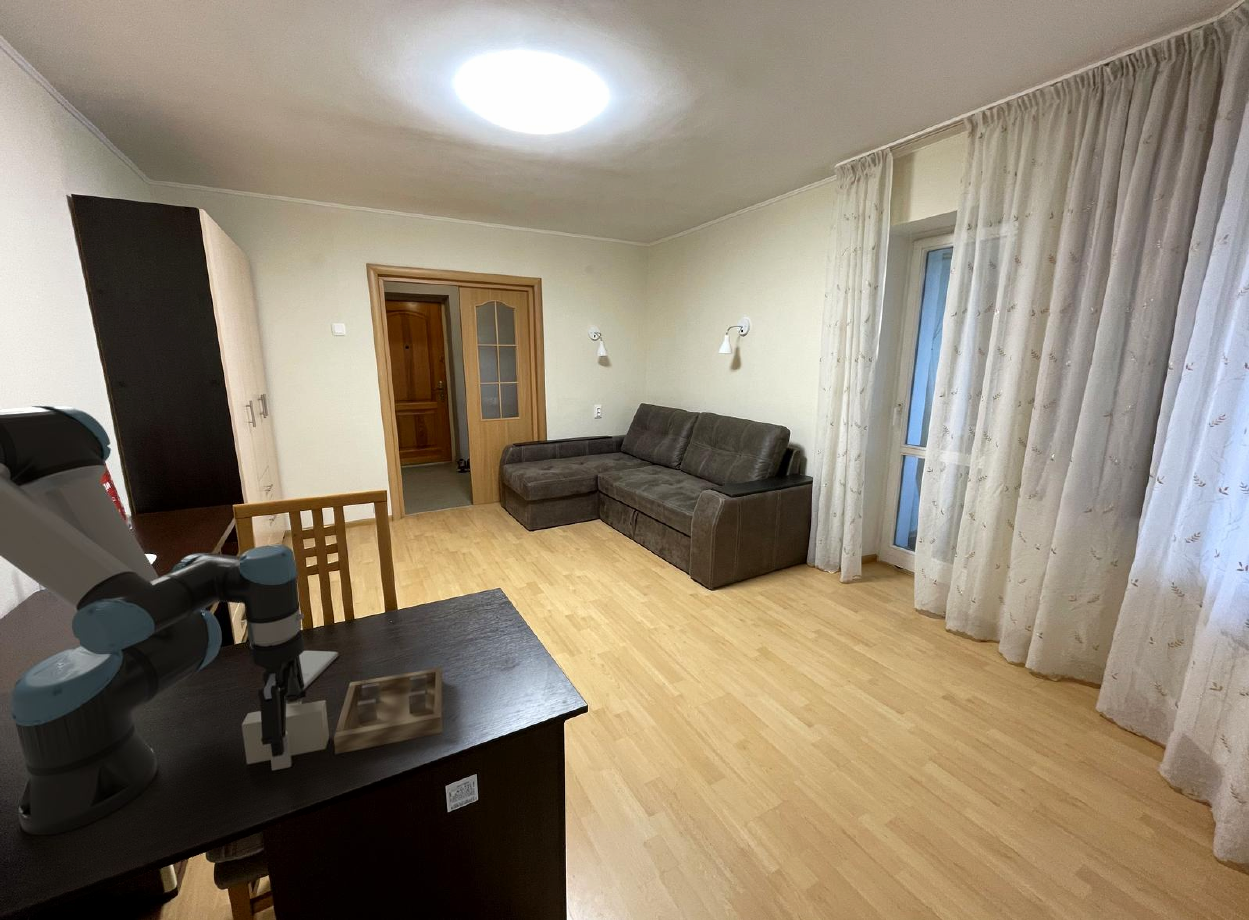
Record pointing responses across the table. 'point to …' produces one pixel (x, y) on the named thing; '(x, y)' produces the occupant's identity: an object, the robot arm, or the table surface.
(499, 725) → the table surface
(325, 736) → the beige rectangular block
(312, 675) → the external hard drive
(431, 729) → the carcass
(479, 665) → the table surface
